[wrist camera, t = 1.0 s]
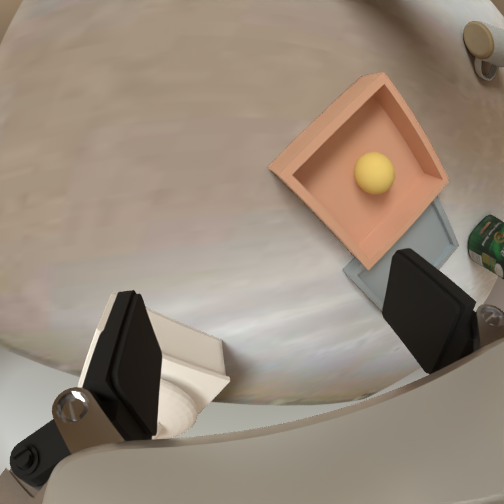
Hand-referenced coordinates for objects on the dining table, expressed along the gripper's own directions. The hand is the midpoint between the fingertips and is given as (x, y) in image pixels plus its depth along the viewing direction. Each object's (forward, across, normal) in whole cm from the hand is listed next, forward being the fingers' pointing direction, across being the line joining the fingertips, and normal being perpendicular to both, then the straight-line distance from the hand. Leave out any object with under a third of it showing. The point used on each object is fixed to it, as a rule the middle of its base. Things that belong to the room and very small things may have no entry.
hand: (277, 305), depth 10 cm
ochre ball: (+23, -17, 0) cm, 29 cm away
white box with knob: (+25, +16, +25) cm, 38 cm away
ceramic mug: (+25, -44, -22) cm, 55 cm away
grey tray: (+24, -26, +14) cm, 38 cm away
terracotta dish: (+24, -17, 0) cm, 30 cm away
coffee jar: (+24, -47, +14) cm, 55 cm away
